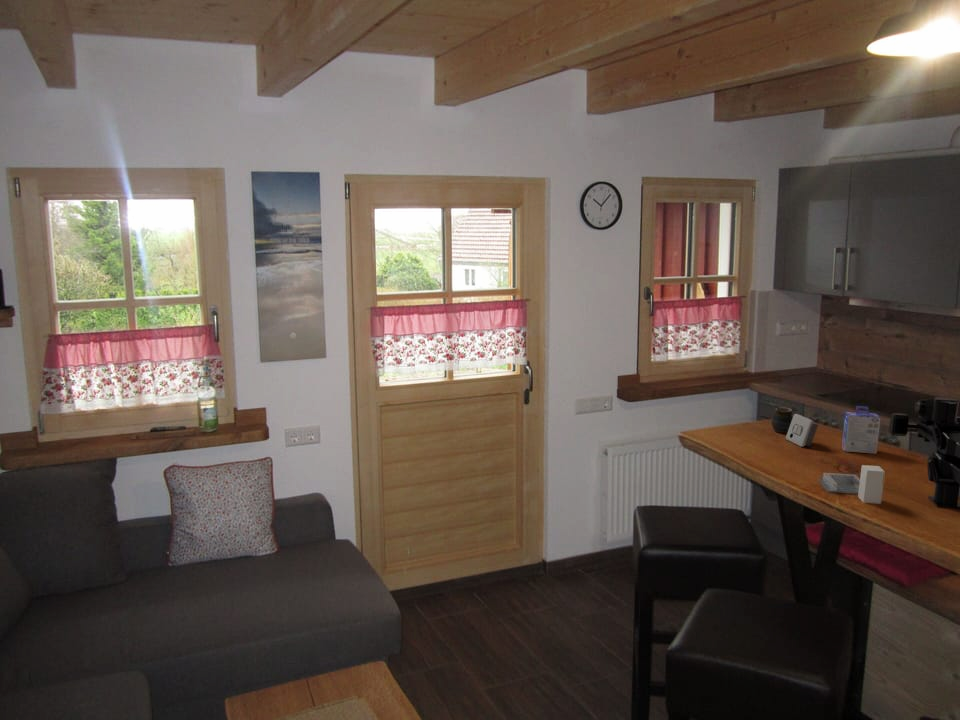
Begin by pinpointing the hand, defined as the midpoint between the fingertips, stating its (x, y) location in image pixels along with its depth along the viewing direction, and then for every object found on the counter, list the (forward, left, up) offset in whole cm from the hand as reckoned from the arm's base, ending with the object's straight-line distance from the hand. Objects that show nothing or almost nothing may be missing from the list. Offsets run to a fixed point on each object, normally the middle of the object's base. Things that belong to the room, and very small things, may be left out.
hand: (913, 418), depth 232 cm
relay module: (-26, +19, -17) cm, 36 cm away
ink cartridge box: (+20, +7, -17) cm, 27 cm away
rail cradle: (-17, +23, -17) cm, 33 cm away
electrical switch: (+25, +24, -17) cm, 39 cm away
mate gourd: (+38, +27, -17) cm, 49 cm away
